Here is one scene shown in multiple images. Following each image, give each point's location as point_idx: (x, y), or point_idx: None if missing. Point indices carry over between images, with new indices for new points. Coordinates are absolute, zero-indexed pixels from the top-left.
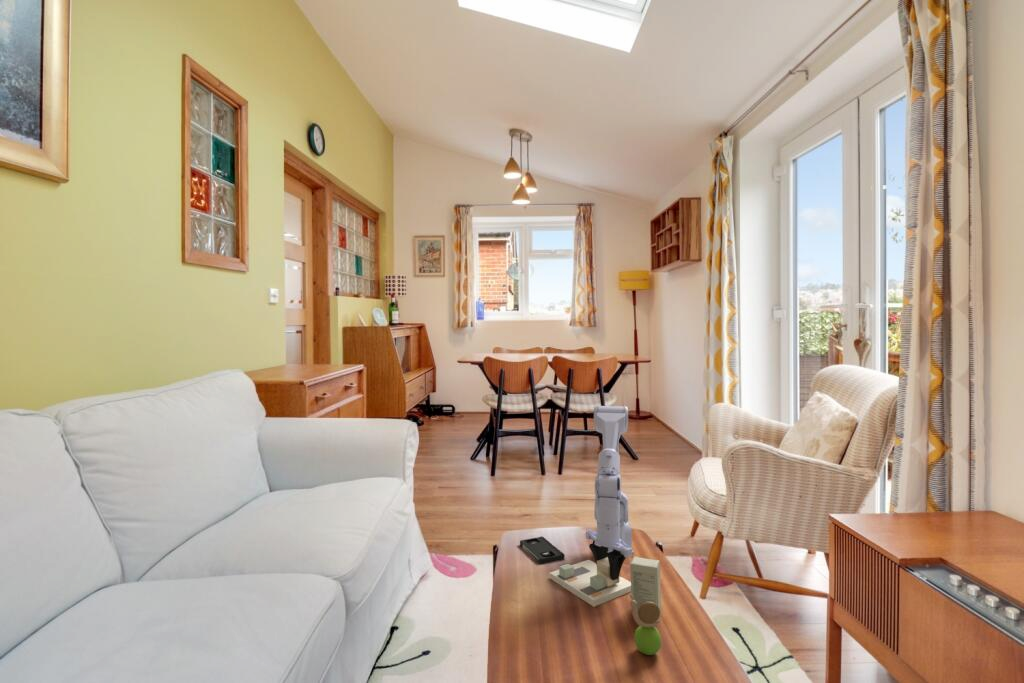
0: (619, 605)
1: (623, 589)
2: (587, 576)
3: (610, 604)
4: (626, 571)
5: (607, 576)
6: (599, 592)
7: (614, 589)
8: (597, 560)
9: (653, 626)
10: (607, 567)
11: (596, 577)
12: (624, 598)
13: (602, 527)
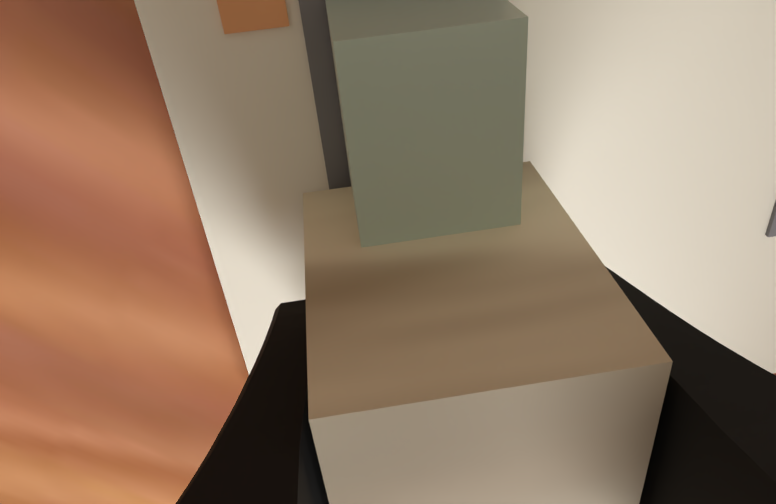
0: (28, 123)
1: (235, 326)
2: (716, 132)
3: (83, 33)
4: None
5: (317, 278)
6: (261, 3)
7: (259, 241)
8: (681, 382)
9: None
10: (325, 401)
11: (454, 123)
12: (166, 258)
13: None
